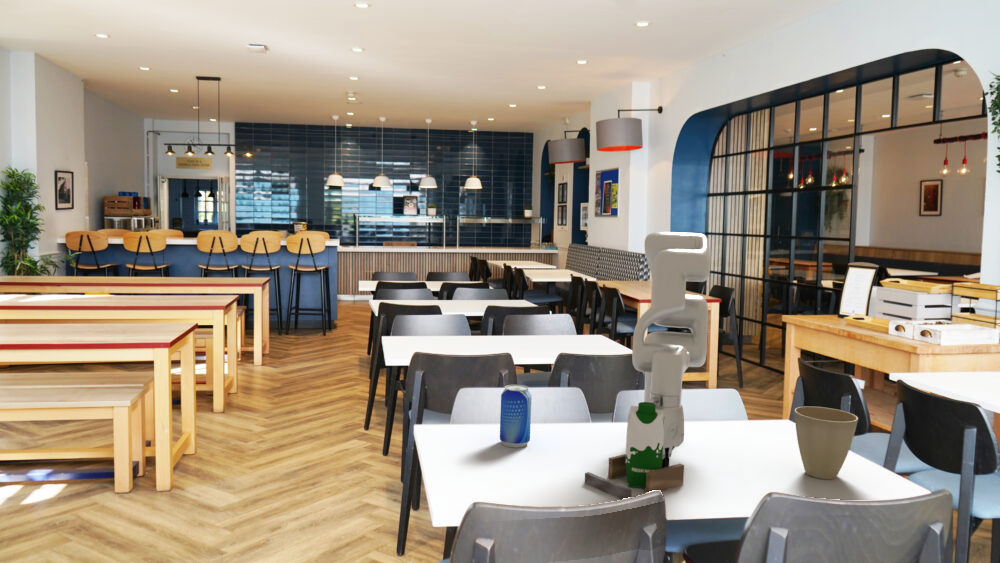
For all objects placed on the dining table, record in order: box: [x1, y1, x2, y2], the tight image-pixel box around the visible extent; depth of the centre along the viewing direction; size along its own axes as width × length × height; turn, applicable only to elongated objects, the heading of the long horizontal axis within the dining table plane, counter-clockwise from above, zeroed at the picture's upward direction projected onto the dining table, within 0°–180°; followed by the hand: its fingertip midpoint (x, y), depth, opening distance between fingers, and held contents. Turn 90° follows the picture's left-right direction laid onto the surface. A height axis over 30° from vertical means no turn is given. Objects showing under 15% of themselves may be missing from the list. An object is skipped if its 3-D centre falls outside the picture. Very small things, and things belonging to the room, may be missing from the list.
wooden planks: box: [584, 453, 685, 500], centre depth 183 cm, size 14×20×5 cm
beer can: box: [499, 384, 532, 448], centre depth 211 cm, size 8×8×16 cm
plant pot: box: [794, 406, 859, 480], centre depth 195 cm, size 15×15×16 cm
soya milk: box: [625, 401, 664, 489], centre depth 184 cm, size 9×9×20 cm
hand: (661, 472), depth 189 cm, fingers closed
